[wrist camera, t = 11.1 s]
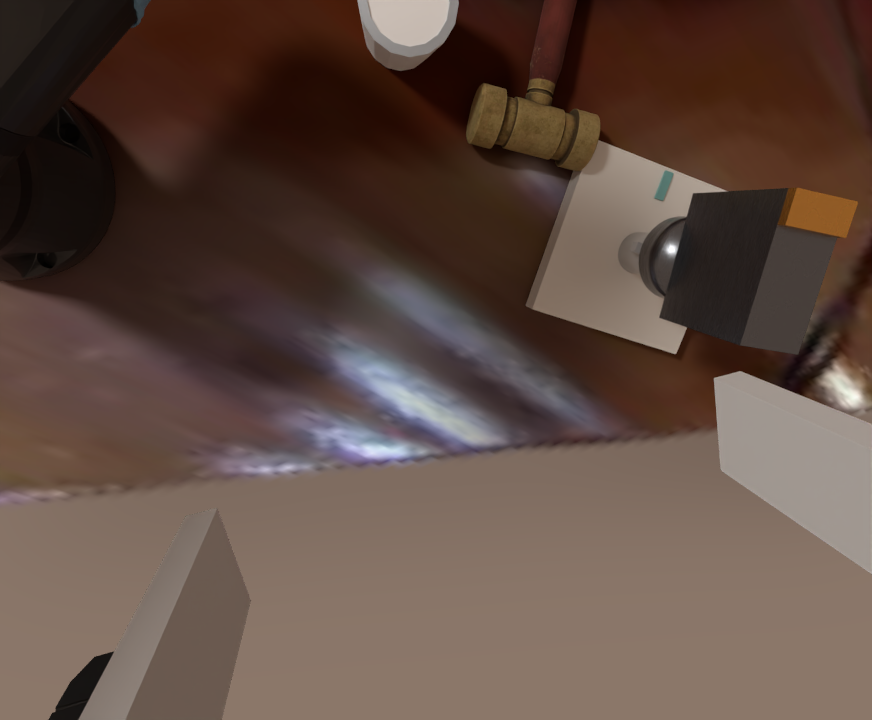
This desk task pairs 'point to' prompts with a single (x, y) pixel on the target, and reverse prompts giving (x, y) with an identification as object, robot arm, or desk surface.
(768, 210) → the grey block orange cap
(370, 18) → the shot glass
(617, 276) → the base
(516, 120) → the gavel
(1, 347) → the desk surface
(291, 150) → the desk surface
